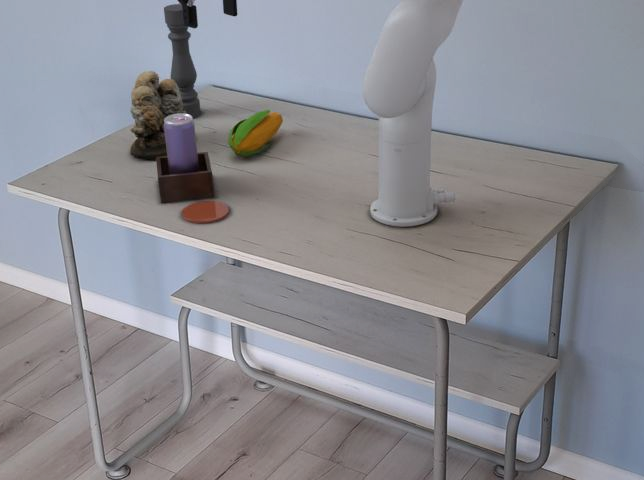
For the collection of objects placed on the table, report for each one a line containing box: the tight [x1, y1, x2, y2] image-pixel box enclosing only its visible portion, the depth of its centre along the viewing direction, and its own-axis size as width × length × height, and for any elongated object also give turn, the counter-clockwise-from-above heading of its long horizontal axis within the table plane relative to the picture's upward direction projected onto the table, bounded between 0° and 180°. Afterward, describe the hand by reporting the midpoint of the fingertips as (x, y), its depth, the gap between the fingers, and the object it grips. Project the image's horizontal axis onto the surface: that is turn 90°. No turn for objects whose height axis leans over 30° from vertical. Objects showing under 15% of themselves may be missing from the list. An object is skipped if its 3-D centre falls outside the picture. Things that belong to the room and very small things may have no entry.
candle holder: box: [163, 3, 202, 119], centre depth 237 cm, size 6×6×25 cm
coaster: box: [181, 200, 230, 224], centre depth 198 cm, size 9×9×1 cm
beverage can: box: [164, 114, 199, 175], centre depth 203 cm, size 6×6×15 cm
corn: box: [227, 109, 284, 158], centre depth 223 cm, size 7×8×20 cm
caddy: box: [155, 151, 215, 204], centre depth 206 cm, size 11×11×6 cm
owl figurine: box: [129, 70, 187, 161], centre depth 222 cm, size 18×12×17 cm, turn 155°
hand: (211, 20), depth 189 cm, fingers open, 9 cm apart
